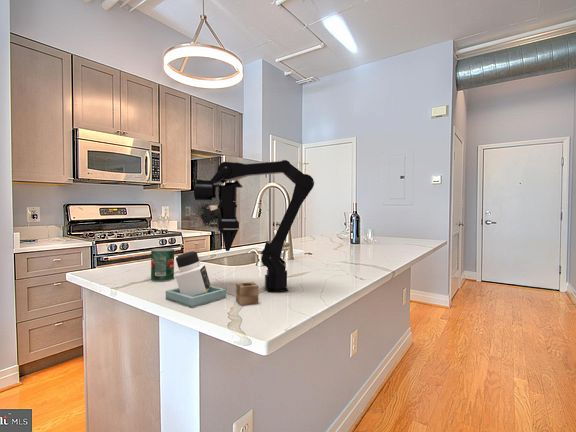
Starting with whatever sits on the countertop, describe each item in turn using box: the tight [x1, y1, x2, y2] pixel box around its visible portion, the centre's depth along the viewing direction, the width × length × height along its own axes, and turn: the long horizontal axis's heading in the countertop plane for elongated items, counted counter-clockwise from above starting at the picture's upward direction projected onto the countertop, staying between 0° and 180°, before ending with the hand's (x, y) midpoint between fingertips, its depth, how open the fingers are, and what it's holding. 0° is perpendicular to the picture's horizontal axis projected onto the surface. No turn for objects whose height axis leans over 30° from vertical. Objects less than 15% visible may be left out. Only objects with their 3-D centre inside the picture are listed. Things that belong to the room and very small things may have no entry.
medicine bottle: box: [175, 250, 212, 297], centre depth 90 cm, size 7×7×12 cm
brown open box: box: [235, 281, 259, 306], centre depth 88 cm, size 5×5×5 cm
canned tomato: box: [150, 247, 175, 283], centre depth 113 cm, size 8×8×11 cm
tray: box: [165, 285, 227, 309], centre depth 90 cm, size 12×12×2 cm
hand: (226, 249), depth 102 cm, fingers open, 9 cm apart
